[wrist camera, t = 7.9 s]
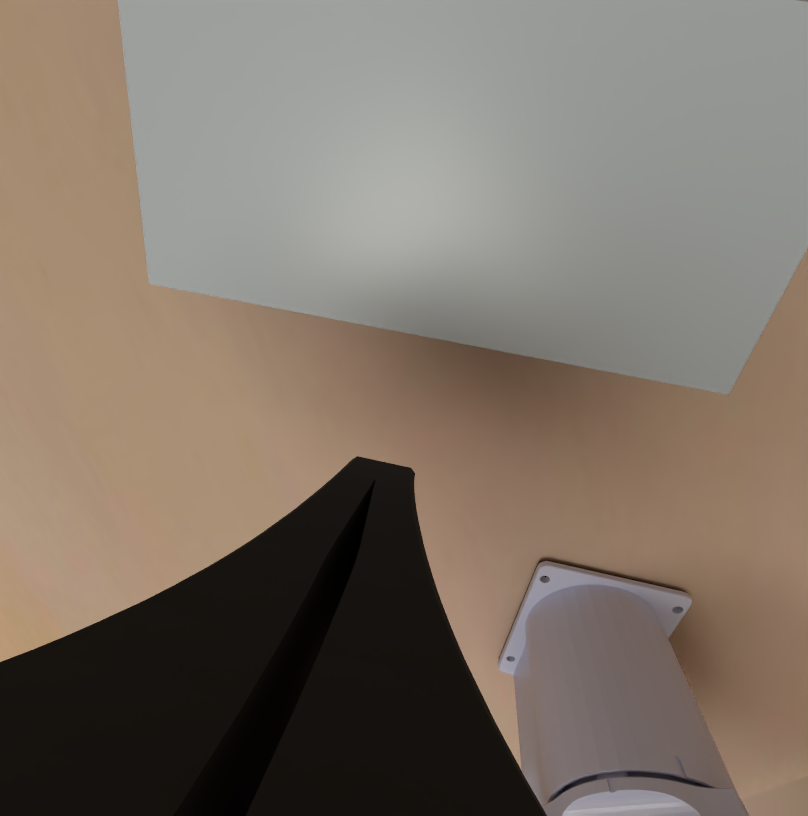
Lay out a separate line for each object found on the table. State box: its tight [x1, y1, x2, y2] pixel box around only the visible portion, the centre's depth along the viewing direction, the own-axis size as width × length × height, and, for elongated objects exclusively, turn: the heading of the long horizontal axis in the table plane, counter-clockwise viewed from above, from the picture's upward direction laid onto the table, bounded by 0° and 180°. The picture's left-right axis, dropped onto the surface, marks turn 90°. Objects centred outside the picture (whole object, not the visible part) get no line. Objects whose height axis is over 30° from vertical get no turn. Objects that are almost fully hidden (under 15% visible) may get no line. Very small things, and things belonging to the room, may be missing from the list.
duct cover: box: [118, 0, 808, 395], centre depth 12 cm, size 9×20×1 cm, turn 81°
